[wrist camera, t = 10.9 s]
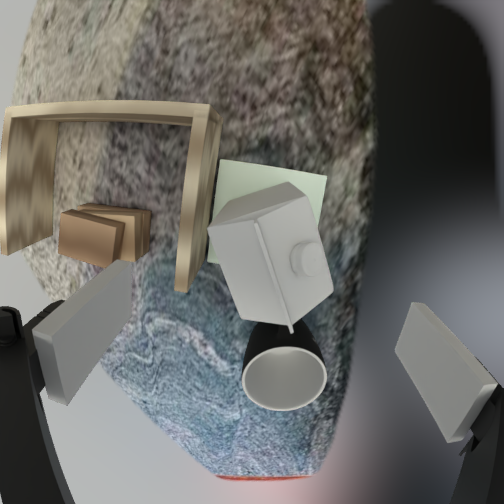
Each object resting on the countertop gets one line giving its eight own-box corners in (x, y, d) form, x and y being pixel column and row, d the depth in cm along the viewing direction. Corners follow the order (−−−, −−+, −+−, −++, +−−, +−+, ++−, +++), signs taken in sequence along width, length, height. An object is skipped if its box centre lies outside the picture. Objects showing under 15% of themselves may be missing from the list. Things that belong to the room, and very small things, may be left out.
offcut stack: (87, 200, 37) (55, 210, 30) (152, 208, 37) (128, 220, 30) (86, 242, 38) (55, 260, 31) (149, 253, 39) (126, 274, 31)
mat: (220, 159, 35) (220, 159, 35) (326, 175, 35) (327, 176, 35) (208, 260, 39) (207, 261, 38) (306, 275, 39) (307, 276, 38)
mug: (312, 360, 42) (323, 409, 33) (246, 361, 43) (242, 412, 33) (317, 279, 39) (334, 317, 29) (243, 280, 39) (237, 319, 30)
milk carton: (248, 258, 38) (237, 348, 20) (227, 200, 36) (194, 243, 18) (307, 239, 37) (348, 316, 19) (288, 180, 35) (318, 202, 17)
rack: (54, 113, 34) (6, 107, 24) (223, 119, 34) (209, 104, 24) (46, 233, 38) (1, 254, 29) (204, 259, 39) (186, 292, 29)
